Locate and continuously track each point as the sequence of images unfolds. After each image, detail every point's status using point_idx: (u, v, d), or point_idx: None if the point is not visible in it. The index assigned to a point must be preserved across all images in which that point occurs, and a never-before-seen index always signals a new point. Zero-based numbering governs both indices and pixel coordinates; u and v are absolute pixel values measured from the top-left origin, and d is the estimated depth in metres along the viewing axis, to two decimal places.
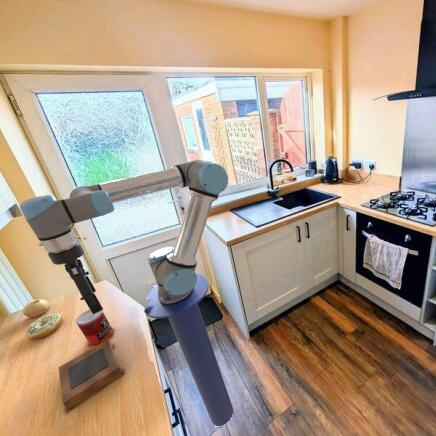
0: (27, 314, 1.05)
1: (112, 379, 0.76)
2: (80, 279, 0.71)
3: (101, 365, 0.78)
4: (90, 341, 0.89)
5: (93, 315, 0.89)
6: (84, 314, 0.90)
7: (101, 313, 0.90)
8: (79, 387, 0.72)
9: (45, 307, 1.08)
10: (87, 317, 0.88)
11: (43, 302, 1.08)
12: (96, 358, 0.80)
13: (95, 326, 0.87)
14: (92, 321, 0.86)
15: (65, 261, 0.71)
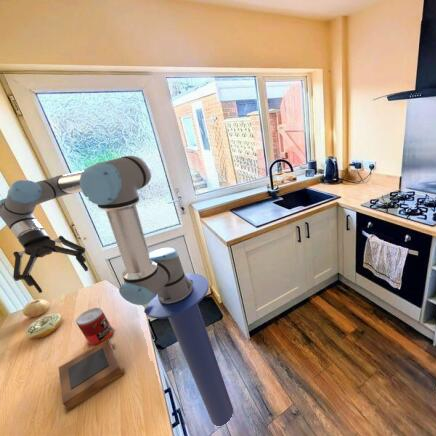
0: (27, 314, 1.05)
1: (112, 379, 0.76)
2: (15, 263, 0.83)
3: (101, 365, 0.78)
4: (90, 341, 0.89)
5: (93, 315, 0.89)
6: (84, 314, 0.90)
7: (101, 313, 0.90)
8: (79, 387, 0.72)
9: (45, 307, 1.08)
10: (87, 317, 0.88)
11: (43, 302, 1.08)
12: (96, 358, 0.80)
13: (95, 326, 0.87)
14: (92, 321, 0.86)
15: (23, 247, 0.88)
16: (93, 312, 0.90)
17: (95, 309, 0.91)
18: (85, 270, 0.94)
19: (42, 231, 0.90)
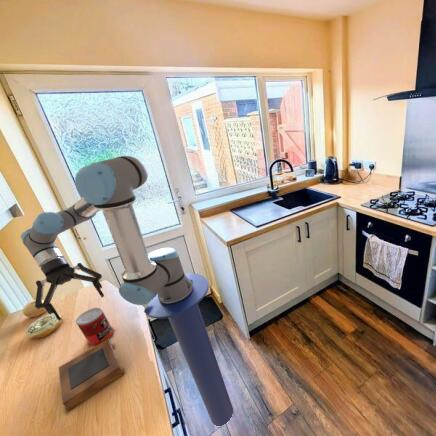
0: (27, 314, 1.05)
1: (112, 379, 0.76)
2: None
3: (101, 365, 0.78)
4: (90, 341, 0.89)
5: (93, 315, 0.89)
6: (84, 314, 0.90)
7: (101, 313, 0.90)
8: (79, 387, 0.72)
9: None
10: (87, 317, 0.88)
11: None
12: (96, 358, 0.80)
13: (95, 326, 0.87)
14: (92, 321, 0.86)
15: None
16: (93, 312, 0.90)
17: (95, 309, 0.91)
18: (101, 296, 0.97)
19: (62, 259, 0.95)
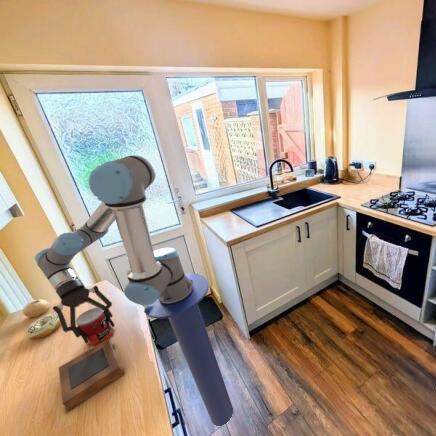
0: (27, 314, 1.05)
1: (112, 379, 0.76)
2: None
3: (101, 365, 0.78)
4: (90, 341, 0.89)
5: (93, 315, 0.89)
6: (84, 314, 0.90)
7: (101, 313, 0.90)
8: (79, 387, 0.72)
9: (45, 307, 1.08)
10: (87, 317, 0.88)
11: (43, 302, 1.08)
12: (96, 358, 0.80)
13: (95, 326, 0.87)
14: (92, 321, 0.86)
15: None
16: (93, 312, 0.90)
17: (95, 309, 0.91)
18: (112, 326, 0.93)
19: (77, 281, 0.92)
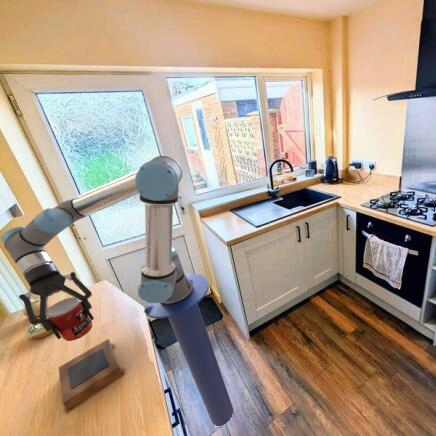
0: (27, 314, 1.05)
1: (112, 379, 0.76)
2: None
3: (101, 365, 0.78)
4: (64, 336, 0.75)
5: (67, 305, 0.75)
6: (57, 305, 0.76)
7: (77, 303, 0.76)
8: (79, 387, 0.72)
9: None
10: (60, 308, 0.75)
11: None
12: (96, 358, 0.80)
13: (69, 319, 0.74)
14: (65, 313, 0.73)
15: None
16: (68, 302, 0.77)
17: (71, 299, 0.78)
18: None
19: (50, 266, 0.79)
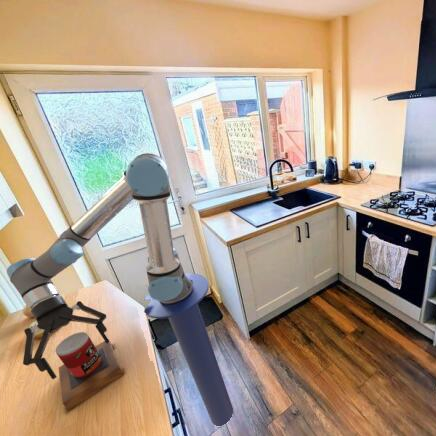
0: (27, 314, 1.05)
1: (112, 379, 0.76)
2: None
3: (101, 365, 0.78)
4: (73, 373, 0.74)
5: (77, 342, 0.74)
6: (66, 341, 0.74)
7: (87, 339, 0.74)
8: (79, 387, 0.72)
9: None
10: (69, 345, 0.73)
11: None
12: None
13: (79, 356, 0.72)
14: (75, 350, 0.71)
15: None
16: (77, 338, 0.75)
17: (80, 334, 0.76)
18: (106, 342, 0.79)
19: (58, 298, 0.77)
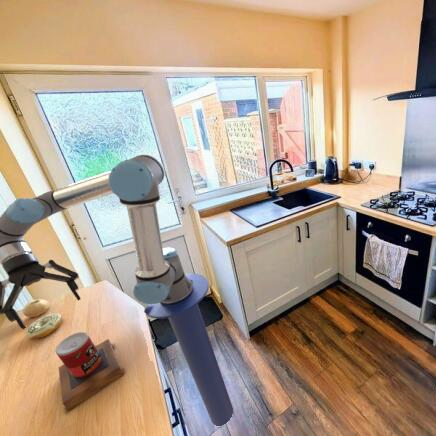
0: (27, 314, 1.05)
1: (112, 379, 0.76)
2: None
3: (101, 365, 0.78)
4: (73, 373, 0.74)
5: (77, 342, 0.74)
6: (66, 341, 0.74)
7: (87, 339, 0.74)
8: (79, 387, 0.72)
9: (45, 307, 1.08)
10: (69, 345, 0.73)
11: (43, 302, 1.08)
12: None
13: (79, 356, 0.72)
14: (75, 350, 0.71)
15: None
16: (77, 338, 0.75)
17: (80, 334, 0.76)
18: (77, 299, 0.82)
19: (29, 255, 0.79)
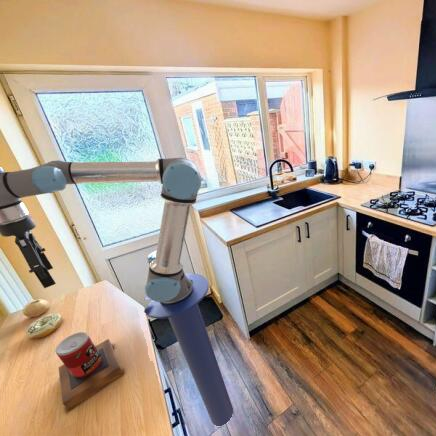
0: (27, 314, 1.05)
1: (112, 379, 0.76)
2: (29, 251, 0.71)
3: (101, 365, 0.78)
4: (73, 373, 0.74)
5: (77, 342, 0.74)
6: (66, 341, 0.74)
7: (87, 339, 0.74)
8: (79, 387, 0.72)
9: (45, 307, 1.08)
10: (69, 345, 0.73)
11: (43, 302, 1.08)
12: None
13: (79, 356, 0.72)
14: (75, 350, 0.71)
15: (13, 233, 0.71)
16: (77, 338, 0.75)
17: (80, 334, 0.76)
18: None
19: None
